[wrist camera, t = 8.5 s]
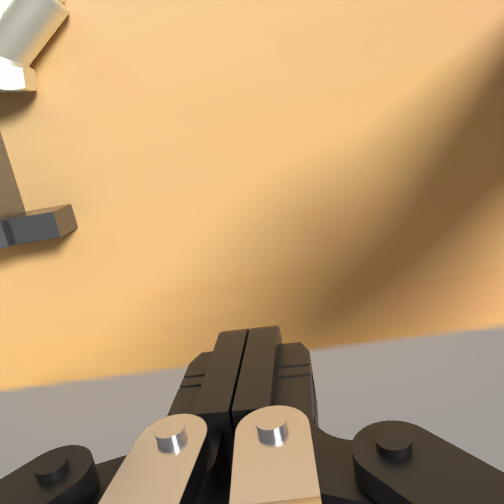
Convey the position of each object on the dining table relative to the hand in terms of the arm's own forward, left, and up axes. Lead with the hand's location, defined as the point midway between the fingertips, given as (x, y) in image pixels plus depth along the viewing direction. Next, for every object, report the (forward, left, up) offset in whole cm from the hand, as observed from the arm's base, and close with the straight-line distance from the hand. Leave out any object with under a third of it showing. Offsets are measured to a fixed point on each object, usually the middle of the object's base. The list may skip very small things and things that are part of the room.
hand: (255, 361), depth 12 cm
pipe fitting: (+16, -15, -26) cm, 34 cm away
